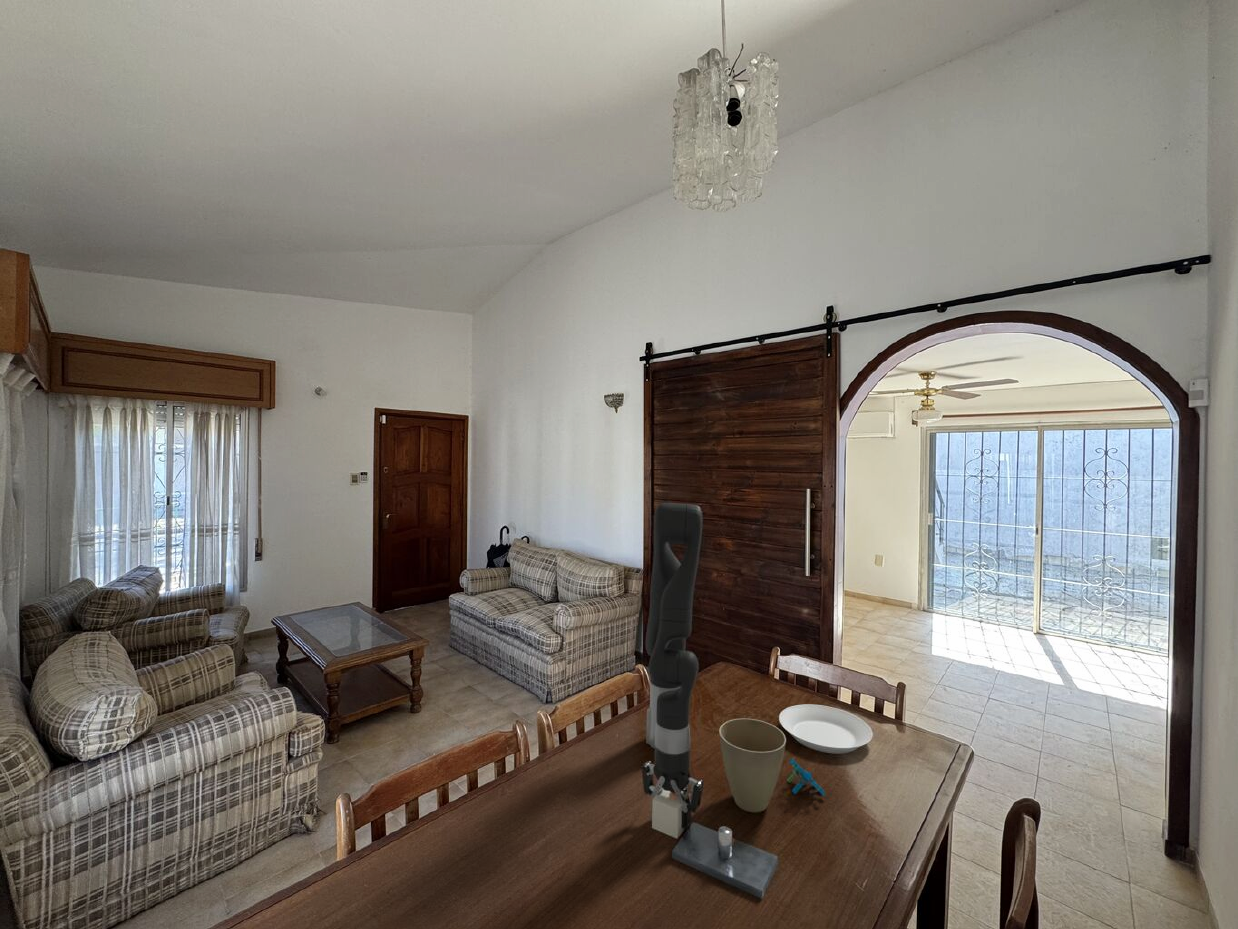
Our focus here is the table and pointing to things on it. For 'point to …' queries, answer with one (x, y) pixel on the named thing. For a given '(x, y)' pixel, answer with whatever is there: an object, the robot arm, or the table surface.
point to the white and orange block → (667, 814)
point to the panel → (726, 858)
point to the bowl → (825, 728)
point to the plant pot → (752, 760)
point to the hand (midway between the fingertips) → (671, 820)
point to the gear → (802, 778)
